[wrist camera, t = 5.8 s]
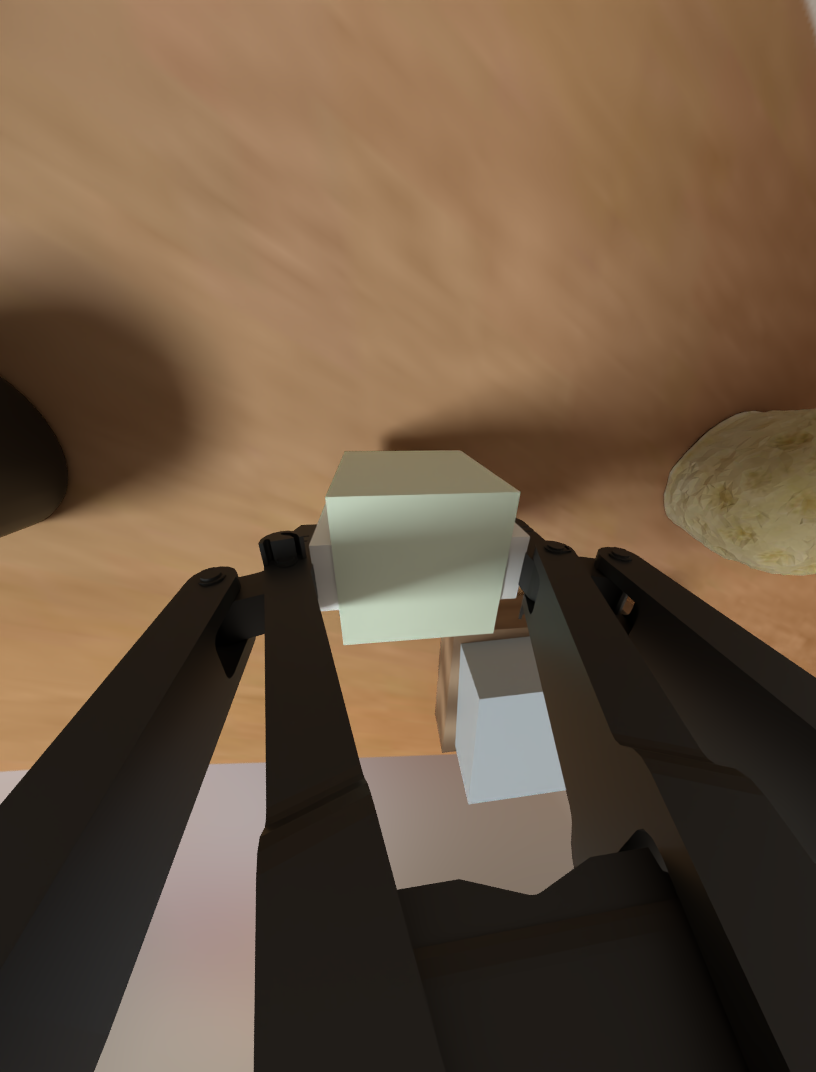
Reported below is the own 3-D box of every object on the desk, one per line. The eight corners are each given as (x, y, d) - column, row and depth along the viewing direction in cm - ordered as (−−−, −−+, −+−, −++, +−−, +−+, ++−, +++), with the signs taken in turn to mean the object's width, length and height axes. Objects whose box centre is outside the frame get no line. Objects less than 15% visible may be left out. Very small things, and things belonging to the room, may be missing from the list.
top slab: (460, 643, 20) (479, 699, 16) (627, 626, 20) (680, 675, 17) (455, 745, 25) (468, 804, 21) (587, 728, 26) (621, 781, 22)
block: (344, 451, 15) (325, 497, 8) (460, 450, 15) (520, 492, 9) (353, 553, 17) (343, 645, 11) (451, 549, 18) (493, 633, 12)
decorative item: (614, 487, 24) (687, 609, 19) (730, 374, 15) (913, 550, 10) (724, 470, 24) (819, 585, 20) (900, 349, 15) (1145, 508, 11)
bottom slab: (442, 594, 23) (454, 632, 19) (608, 585, 24) (649, 618, 20) (434, 708, 29) (442, 752, 25) (566, 695, 30) (592, 736, 27)
